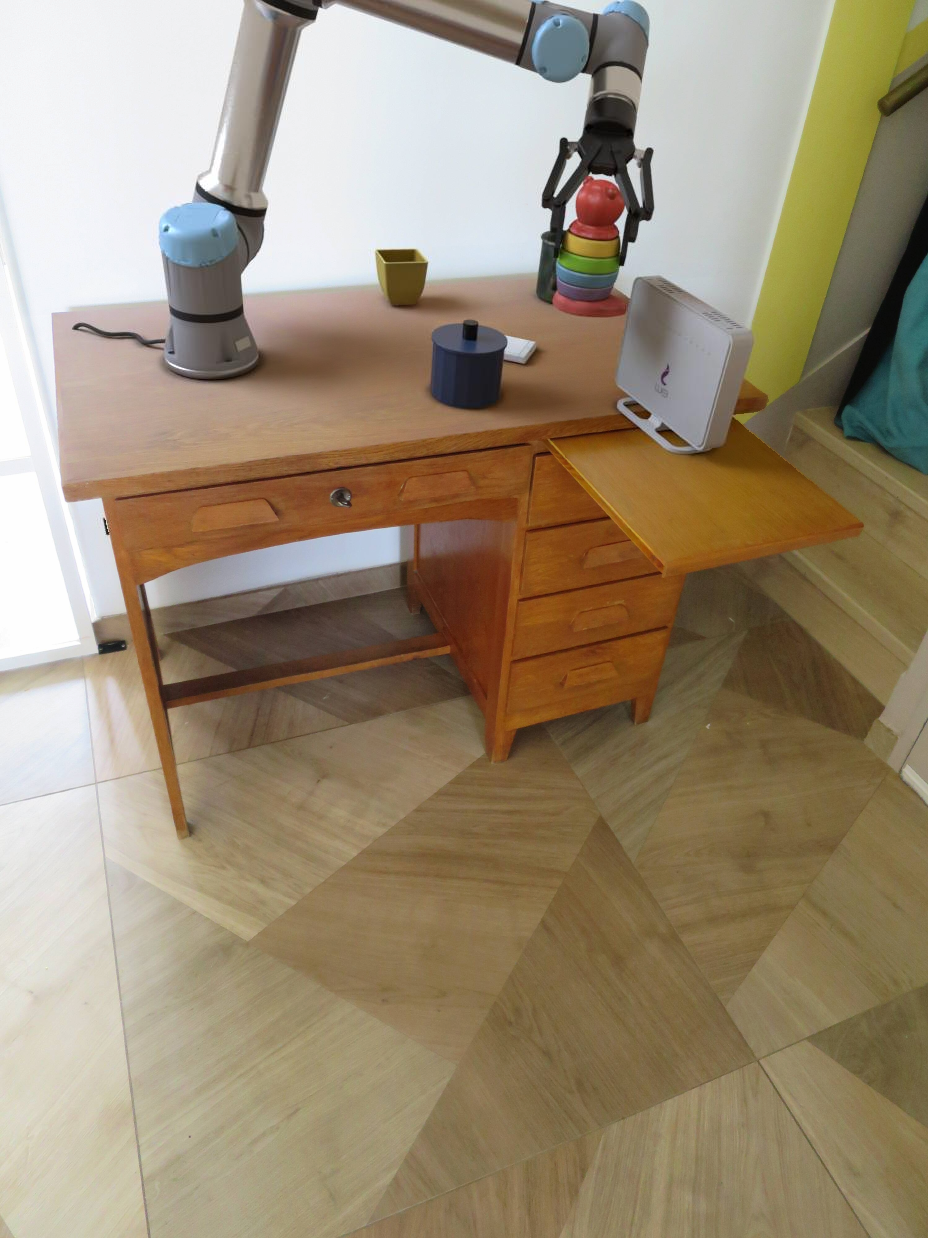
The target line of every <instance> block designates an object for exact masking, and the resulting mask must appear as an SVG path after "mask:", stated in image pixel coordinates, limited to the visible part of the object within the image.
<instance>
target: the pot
mask: <svg viewBox="0 0 928 1238" xmlns="http://www.w3.org/2000/svg"><path fill="white" fill-rule="evenodd" d="M504 352H505V349H504V350H503V351H501V352H499V353H496V354H493V355H487V356H466V355H459V354H454V353H451V352H448V351H445V350H443V349H441V348H439V347H437V346H436V345H435V344H434V343H433V342H432V352H431V370H430V384H429V386H430V387H429V389H430V394H431V395H432V397H433V398H434V399H435V400H436V401H438V402H439V403H441V404H443V405H445V406H449V407H453V408H457V409H465V410H468V409H469V410H476V409H483V408H487V407H490V406H492V405H494V404H496V403H498V401H499V399H500V394H501V387H502V380H503V379H502V378H503V369H504V361H505V360H504Z"/></svg>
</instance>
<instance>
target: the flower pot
mask: <svg viewBox="0 0 928 1238" xmlns="http://www.w3.org/2000/svg"><path fill="white" fill-rule="evenodd" d="M374 255H375V265H376V266H375V267H376V274H377V275H376V276H377V279H378V283H379V285H380V289H381V291H382V293H383V296H384V298H385V300H387V302H388V304H390V306H409V305H411V306H413V305H416V304H417V303H418V301H419V300H420V298H421V296H422V294H423V293H424V290H425V285H426V279H427V273H428V266H429V261H428V259H427V258H425V256H424V255H423V254H422V253H421V252H420V250H419V249H417V248H383V249H382V248H380V249H379V248H378V249H375V250H374Z"/></svg>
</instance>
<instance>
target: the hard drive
mask: <svg viewBox="0 0 928 1238" xmlns="http://www.w3.org/2000/svg"><path fill="white" fill-rule="evenodd" d="M504 335H505V336H506V338H507V340H508V343H507V347H506V348H505V352H504V361H508V362H514V363H517V364H523V365H524V364H526V362H527V361H528V360H529V359H530V357H531V356H532V354H533V353H534V352H535V351H536V349H537V341H533V340H530V339H524V338H520V337H514V336H511V335H506V334H504Z"/></svg>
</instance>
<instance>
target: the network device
mask: <svg viewBox="0 0 928 1238" xmlns="http://www.w3.org/2000/svg"><path fill="white" fill-rule="evenodd" d="M627 307H628V308H627V311H626V318H625V323H624V328H623V332H622V339H621V343H620V348H619V354H618V358H617V363H616V364H617V365H616V368H615V375H614V379H615V383H616V386H617V387H618V388H619V389H620V390H622V391H623V392H624V393H625V394H627V395H628V396H629V397H628V396H627V397H623V398H620V399H619V400H617V405H616V408H617V410H618V411H619V412H620V413H621V414H623V415H624V416H625V417H626V418H627V419H629V420H630V421H631V422H632V423H633V424H635V425H636V426H637V427H638V428H639V429H641V430H642V431H643V432H644V433H645V434H647V435H648V436H649V437H650V438H651V439H652V440H654V441H655V442H656V443H657V444H659V445H660V446H661V447H662V448H663V449H665V450H667V451H668V452H671V453H674V454H679V455H692V454H698V453H703V452H708V451H711V450H712V449H716V448H721V447H723V446H724V445H725V443H726V440H727V436H728V433H729V430H730V426H731V423H732V419H733V415H734V413H735V409H736V406H737V402H738V399H739V395H740V392H741V389H742V385H743V382H744V379H745V375H746V371H747V367H748V365H749V361H750V358H751V354H752V351H753V347H754V344H755V337H754V333H753V331H752V329H750V328H749V327H747V326H745V325H743V324H742V323H740V322H738V321H737V320H735V319H733V318H731V317H730V316H728V315H727V314H725V313H723V312H722V311H720V310H718V309H717V308H715V307H713V306H711V305H710V304H708V303H707V302H705V301H703V300H702V299H700V298H698V297H697V296H695V295H693V294H692V293H690V292H688V291H686V289H683V288H681V287H680V286H678V285H676V284H675V283H673V282H672V281H670V280H668V279H666V278H665V277H663V276H661V275H660V274H658V275H646V276H636V277H635V279H634V280H633V282H632V286H631V292H630V297H629V302H628V306H627ZM635 404H639V405H640V406H642V407H643V408H644V409H645V410H646V411H648V413H650V417H649V418H647V419H645V418H641V417H639V416H637V414H635V413H634V412H633V411H631V410H630V409H629V408H628V407H626V406H629V405H635ZM665 430H666V431H667V430H672V431H673V432H674V433H675V434H677V436H679V437H680V438H681V439H682V440H684V441H685V442H687V444H688V445H689V446H675V445H673V444H671V443H670V442H669V441H668V440H666V438H664V437H663V436H662V435H660V434H659V433H658V432H659V431H665Z"/></svg>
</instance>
